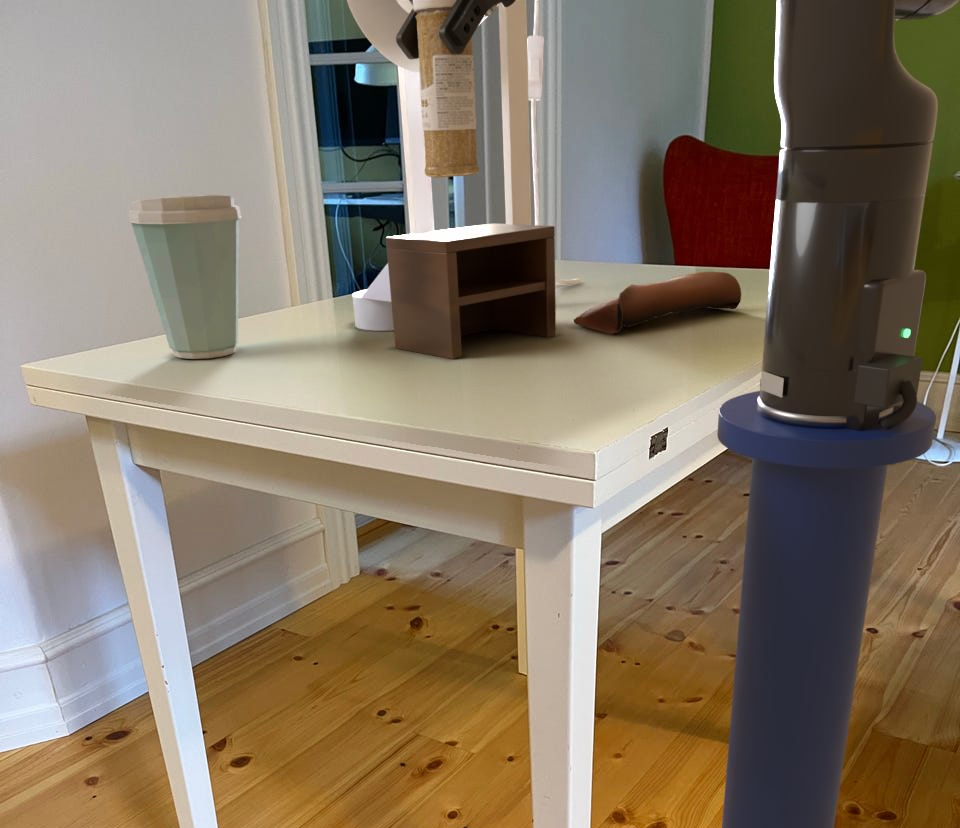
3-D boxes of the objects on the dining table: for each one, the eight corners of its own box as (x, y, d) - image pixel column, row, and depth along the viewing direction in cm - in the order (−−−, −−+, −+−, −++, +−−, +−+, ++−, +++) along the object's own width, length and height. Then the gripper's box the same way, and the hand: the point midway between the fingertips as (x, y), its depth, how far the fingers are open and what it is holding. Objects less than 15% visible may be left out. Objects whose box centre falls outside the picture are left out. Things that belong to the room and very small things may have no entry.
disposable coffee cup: (151, 350, 104) (120, 195, 98) (252, 339, 108) (230, 188, 101) (159, 369, 96) (127, 200, 89) (270, 356, 99) (247, 192, 92)
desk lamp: (338, 312, 121) (287, -149, 100) (511, 277, 141) (499, -112, 120) (460, 327, 108) (431, -200, 87) (632, 286, 128) (641, -149, 107)
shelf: (556, 335, 101) (554, 226, 97) (452, 359, 93) (445, 241, 88) (496, 326, 107) (492, 223, 103) (394, 348, 99) (385, 237, 95)
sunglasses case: (684, 298, 114) (709, 247, 109) (722, 337, 112) (750, 286, 107) (566, 321, 105) (588, 266, 100) (605, 363, 102) (630, 309, 97)
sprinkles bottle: (423, 176, 83) (410, -15, 77) (477, 172, 83) (469, -18, 77) (426, 179, 79) (412, -22, 73) (482, 175, 79) (474, -25, 73)
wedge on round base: (475, 324, 109) (400, 313, 118) (471, 259, 106) (395, 253, 115) (412, 337, 104) (339, 325, 113) (407, 270, 101) (332, 263, 109)
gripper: (446, -159, 79) (340, 16, 78) (578, -204, 69) (459, -5, 68) (497, -74, 85) (399, 91, 83) (626, -104, 75) (517, 81, 74)
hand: (427, 47), depth 76 cm, fingers closed on sprinkles bottle, 4 cm apart
